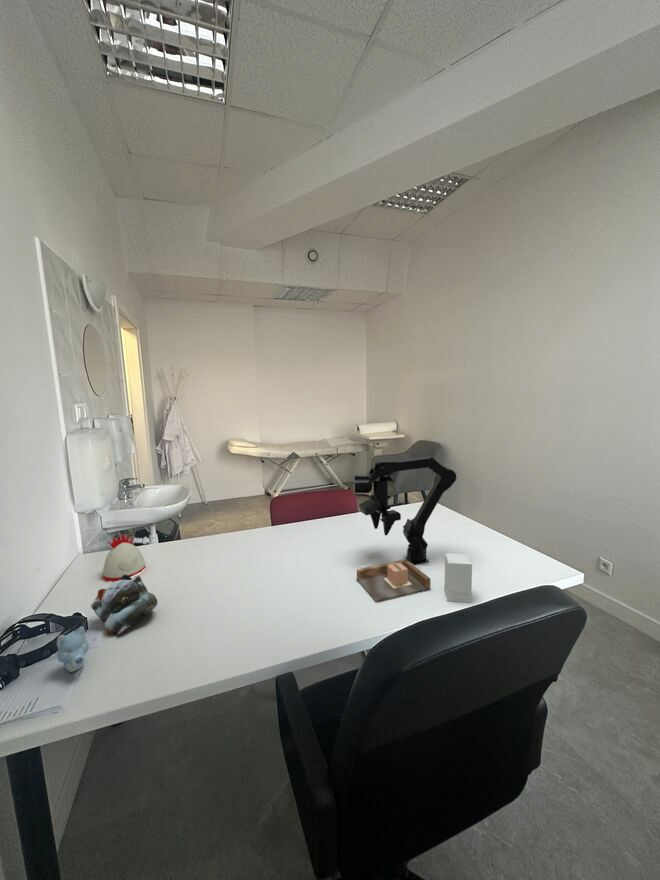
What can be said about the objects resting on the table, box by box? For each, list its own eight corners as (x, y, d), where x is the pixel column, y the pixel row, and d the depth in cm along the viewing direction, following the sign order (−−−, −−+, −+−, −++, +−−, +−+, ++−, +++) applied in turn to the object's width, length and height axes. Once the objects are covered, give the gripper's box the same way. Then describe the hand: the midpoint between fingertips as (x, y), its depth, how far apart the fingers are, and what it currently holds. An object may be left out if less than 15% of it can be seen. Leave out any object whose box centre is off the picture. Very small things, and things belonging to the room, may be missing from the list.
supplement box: (471, 603, 111) (472, 564, 109) (446, 601, 112) (447, 562, 111) (467, 590, 118) (468, 554, 116) (444, 588, 119) (444, 552, 118)
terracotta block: (387, 578, 124) (387, 565, 124) (400, 576, 126) (400, 562, 125) (394, 585, 120) (394, 571, 119) (407, 582, 121) (407, 568, 121)
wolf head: (66, 688, 81) (61, 648, 80) (56, 669, 87) (52, 631, 86) (97, 672, 86) (93, 634, 85) (86, 655, 92) (82, 619, 90)
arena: (406, 569, 133) (406, 559, 132) (430, 589, 119) (430, 578, 118) (356, 580, 126) (356, 569, 126) (376, 602, 112) (376, 590, 112)
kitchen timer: (98, 573, 135) (94, 535, 133) (137, 560, 145) (134, 525, 143) (110, 586, 126) (105, 545, 124) (151, 571, 136) (147, 533, 134)
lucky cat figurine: (105, 644, 96) (82, 597, 97) (108, 636, 106) (87, 594, 107) (161, 608, 104) (140, 565, 105) (159, 605, 114) (139, 566, 115)
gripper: (350, 489, 142) (351, 527, 144) (374, 501, 125) (375, 544, 126) (375, 486, 146) (375, 522, 148) (401, 497, 129) (401, 539, 131)
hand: (380, 531), depth 138 cm, fingers open, 7 cm apart
